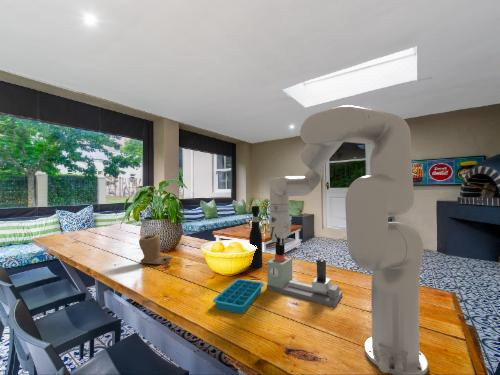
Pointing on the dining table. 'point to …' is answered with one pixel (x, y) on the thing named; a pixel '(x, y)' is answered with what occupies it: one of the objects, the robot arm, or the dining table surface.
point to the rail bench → (307, 294)
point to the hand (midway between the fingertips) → (280, 254)
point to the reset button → (280, 258)
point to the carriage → (321, 279)
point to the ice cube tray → (238, 295)
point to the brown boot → (152, 250)
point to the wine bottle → (256, 239)
